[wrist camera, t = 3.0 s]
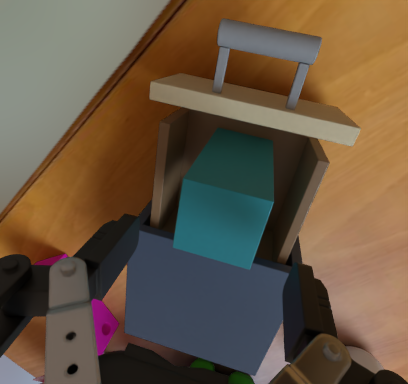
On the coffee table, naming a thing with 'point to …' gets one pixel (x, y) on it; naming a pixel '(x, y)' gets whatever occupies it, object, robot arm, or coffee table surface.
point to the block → (226, 198)
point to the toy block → (95, 314)
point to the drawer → (250, 130)
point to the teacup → (365, 359)
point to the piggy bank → (237, 380)
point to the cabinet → (203, 300)
